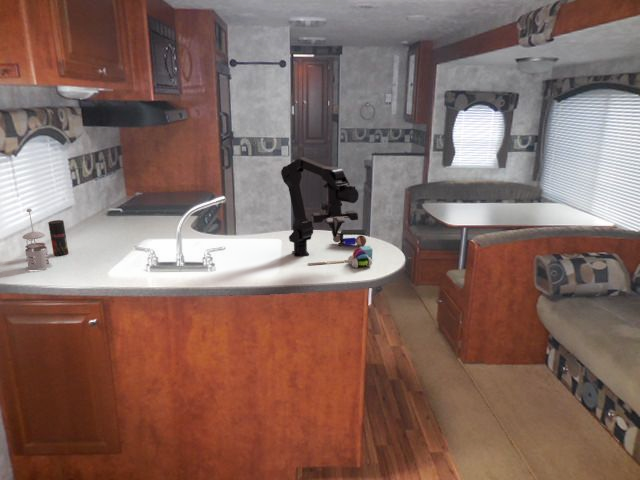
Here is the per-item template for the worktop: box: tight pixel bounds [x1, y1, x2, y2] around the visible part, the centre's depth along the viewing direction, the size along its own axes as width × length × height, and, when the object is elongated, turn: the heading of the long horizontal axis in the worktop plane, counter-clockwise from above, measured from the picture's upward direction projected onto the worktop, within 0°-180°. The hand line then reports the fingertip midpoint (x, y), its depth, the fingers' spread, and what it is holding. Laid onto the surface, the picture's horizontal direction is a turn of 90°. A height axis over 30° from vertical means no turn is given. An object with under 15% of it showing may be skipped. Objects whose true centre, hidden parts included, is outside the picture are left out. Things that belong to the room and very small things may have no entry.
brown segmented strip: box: [307, 259, 349, 266], centre depth 211 cm, size 2×23×1 cm, turn 104°
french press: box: [22, 208, 53, 271], centre depth 204 cm, size 10×12×25 cm
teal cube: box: [358, 245, 373, 260], centre depth 216 cm, size 4×4×4 cm
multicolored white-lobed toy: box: [347, 247, 373, 269], centre depth 207 cm, size 8×10×7 cm
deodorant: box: [48, 219, 69, 257], centre depth 221 cm, size 6×6×15 cm
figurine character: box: [332, 229, 367, 247], centre depth 233 cm, size 7×8×15 cm
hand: (334, 236), depth 205 cm, fingers closed
